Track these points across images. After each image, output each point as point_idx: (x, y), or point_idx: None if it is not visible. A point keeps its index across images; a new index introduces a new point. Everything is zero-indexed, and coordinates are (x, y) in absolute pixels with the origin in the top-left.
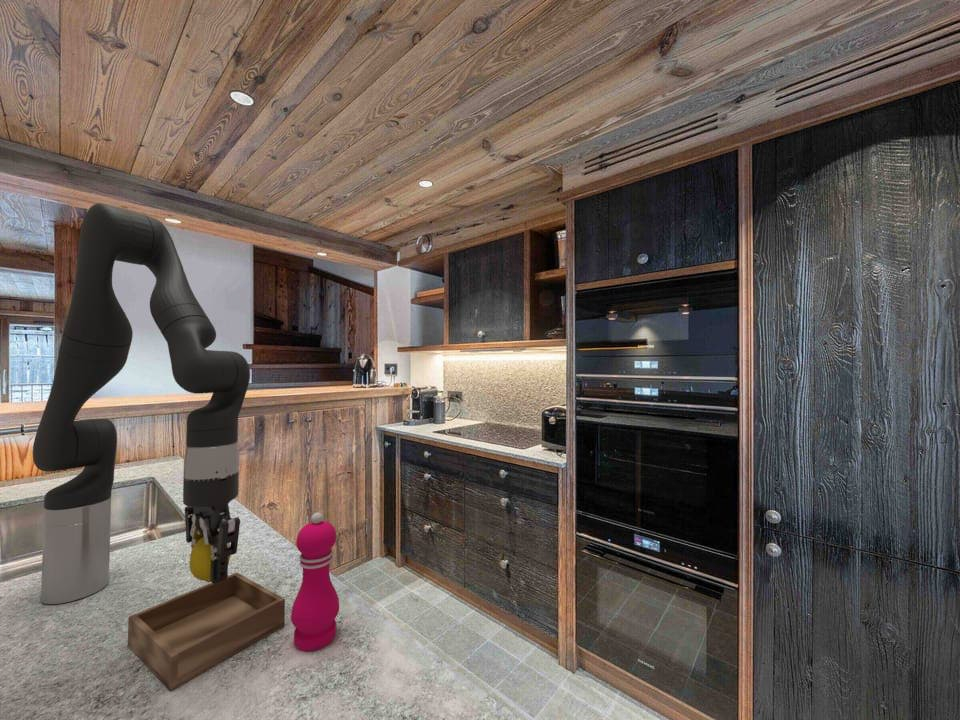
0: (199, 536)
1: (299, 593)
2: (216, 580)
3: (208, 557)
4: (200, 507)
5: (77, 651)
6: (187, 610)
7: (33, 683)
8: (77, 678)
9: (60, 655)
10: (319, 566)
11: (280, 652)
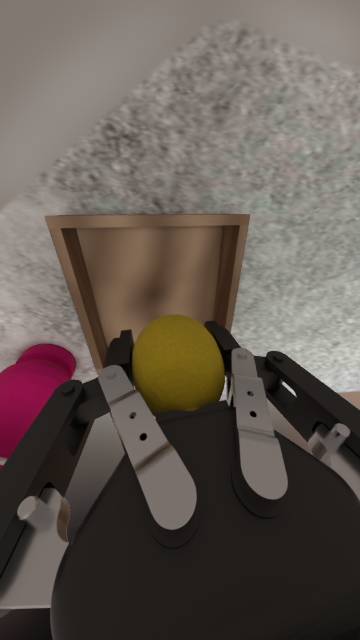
0: (231, 388)
1: (15, 402)
2: (116, 338)
3: (136, 363)
4: (287, 563)
5: (281, 160)
6: (219, 288)
7: (260, 77)
8: (211, 134)
9: (295, 138)
10: None
11: (50, 330)
